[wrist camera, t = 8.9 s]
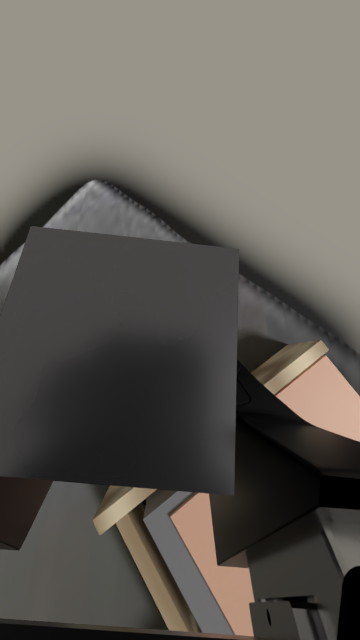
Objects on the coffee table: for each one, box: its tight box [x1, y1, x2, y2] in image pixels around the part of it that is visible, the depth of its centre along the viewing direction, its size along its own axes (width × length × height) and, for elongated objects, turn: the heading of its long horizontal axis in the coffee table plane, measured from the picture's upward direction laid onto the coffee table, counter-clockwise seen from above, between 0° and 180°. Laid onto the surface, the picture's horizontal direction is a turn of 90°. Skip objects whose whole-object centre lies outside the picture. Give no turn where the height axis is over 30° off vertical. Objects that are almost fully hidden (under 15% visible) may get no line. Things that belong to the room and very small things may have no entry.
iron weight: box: [0, 226, 239, 496], centre depth 9 cm, size 7×7×13 cm
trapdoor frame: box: [93, 340, 329, 633], centre depth 17 cm, size 26×17×5 cm, turn 124°
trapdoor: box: [143, 355, 360, 636], centre depth 17 cm, size 22×14×4 cm, turn 124°
